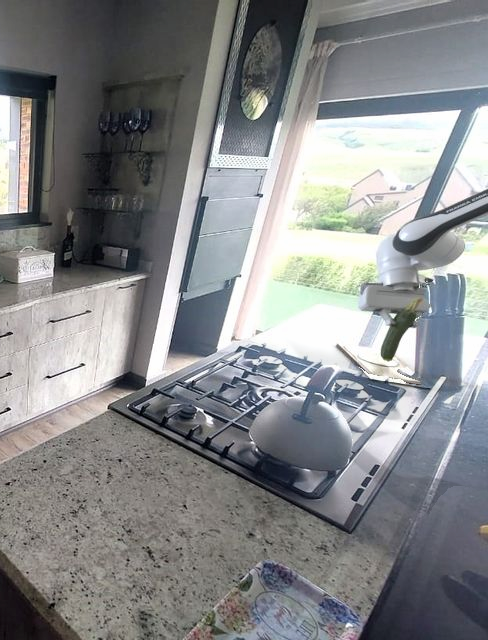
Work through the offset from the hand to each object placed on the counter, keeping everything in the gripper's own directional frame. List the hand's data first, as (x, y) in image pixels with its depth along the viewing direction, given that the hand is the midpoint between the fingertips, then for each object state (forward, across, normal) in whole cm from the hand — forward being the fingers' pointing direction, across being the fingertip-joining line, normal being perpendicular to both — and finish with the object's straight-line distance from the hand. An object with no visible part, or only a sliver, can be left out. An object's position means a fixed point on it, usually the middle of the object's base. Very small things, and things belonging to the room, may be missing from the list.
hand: (402, 326), depth 118 cm
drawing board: (+9, 0, +10) cm, 13 cm away
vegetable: (+8, 0, +9) cm, 12 cm away
